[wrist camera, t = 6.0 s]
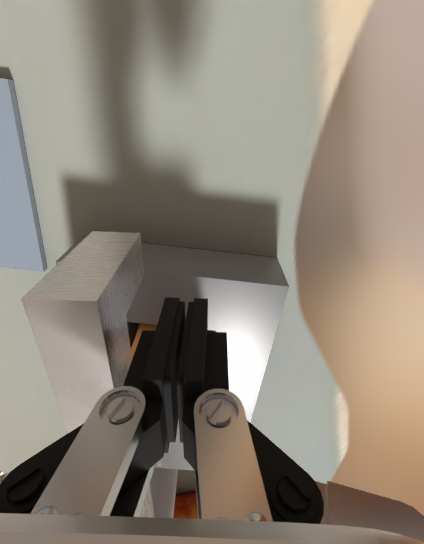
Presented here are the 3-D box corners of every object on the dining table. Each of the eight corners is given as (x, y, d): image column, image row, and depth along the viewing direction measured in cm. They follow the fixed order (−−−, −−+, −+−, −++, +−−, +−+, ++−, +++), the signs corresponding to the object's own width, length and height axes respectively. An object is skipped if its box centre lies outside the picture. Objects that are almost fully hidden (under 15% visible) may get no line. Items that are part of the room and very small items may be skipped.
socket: (83, 236, 21) (-25, 335, 11) (277, 257, 21) (323, 369, 12) (103, 429, 31) (56, 560, 22) (231, 439, 32) (237, 572, 23)
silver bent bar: (68, 230, 12) (-17, 297, 8) (164, 233, 12) (134, 302, 8) (133, 524, 25) (116, 612, 21) (179, 526, 25) (171, 614, 21)
